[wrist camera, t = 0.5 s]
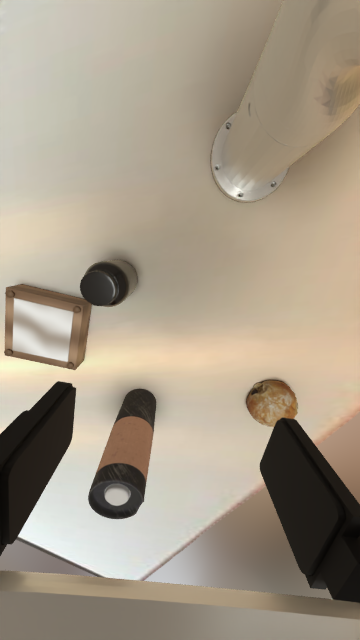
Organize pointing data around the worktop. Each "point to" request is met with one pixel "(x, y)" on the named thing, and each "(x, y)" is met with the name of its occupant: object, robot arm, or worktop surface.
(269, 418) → the bread roll
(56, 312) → the walnut base block
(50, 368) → the worktop surface
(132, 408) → the travel mug
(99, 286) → the supplement bottle
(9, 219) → the worktop surface
